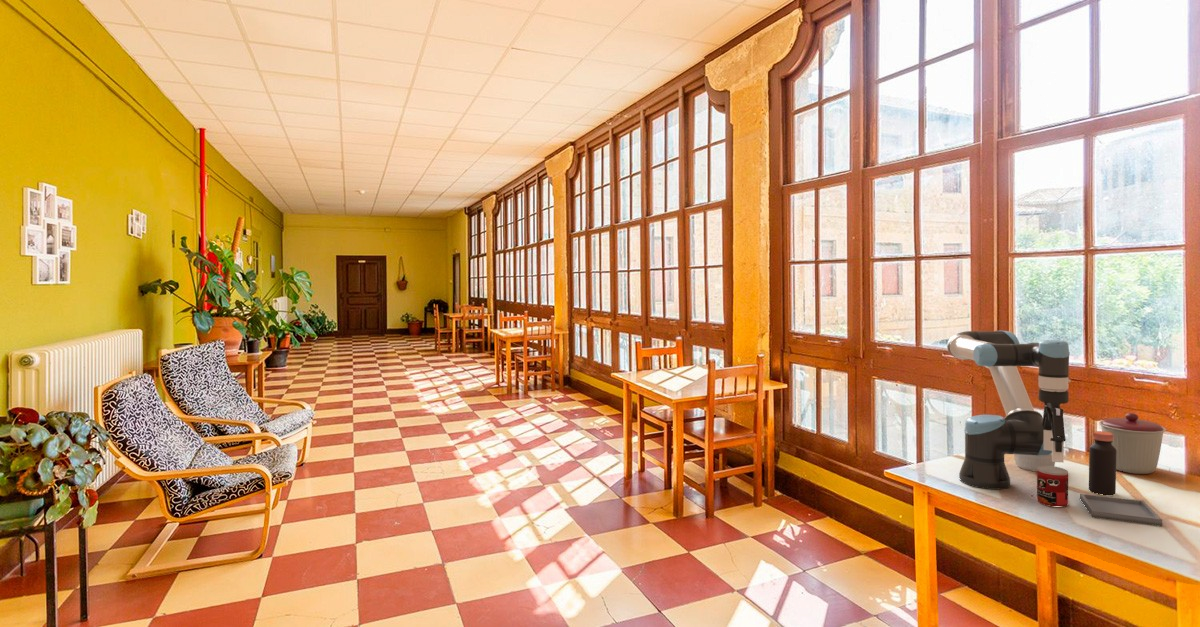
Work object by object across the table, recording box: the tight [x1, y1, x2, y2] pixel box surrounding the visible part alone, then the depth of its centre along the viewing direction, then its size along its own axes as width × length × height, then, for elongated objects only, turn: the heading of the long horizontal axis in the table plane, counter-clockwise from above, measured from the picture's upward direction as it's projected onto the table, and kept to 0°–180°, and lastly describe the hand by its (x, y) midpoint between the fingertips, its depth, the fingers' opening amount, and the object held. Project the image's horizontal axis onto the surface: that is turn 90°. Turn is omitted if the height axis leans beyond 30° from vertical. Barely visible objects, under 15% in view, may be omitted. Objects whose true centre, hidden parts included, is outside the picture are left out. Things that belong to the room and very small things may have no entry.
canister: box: [1098, 412, 1167, 475], centre depth 214 cm, size 18×18×21 cm
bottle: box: [1088, 430, 1117, 496], centre depth 193 cm, size 7×7×20 cm
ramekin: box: [1013, 453, 1056, 472], centre depth 220 cm, size 13×13×7 cm
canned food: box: [1036, 465, 1069, 507], centre depth 186 cm, size 8×8×11 cm
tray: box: [1079, 493, 1163, 527], centre depth 178 cm, size 16×16×2 cm
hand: (1053, 455), depth 186 cm, fingers open, 13 cm apart
